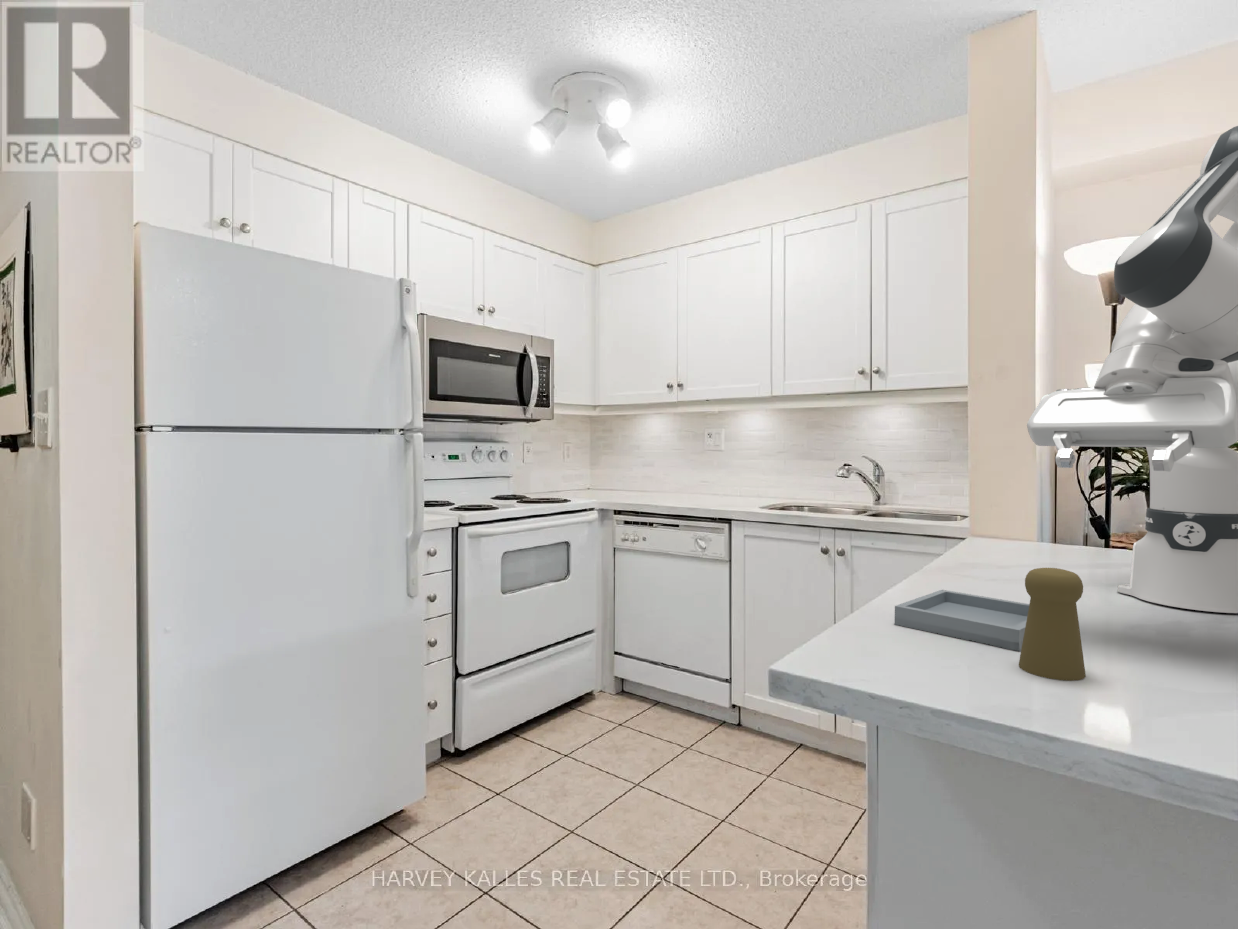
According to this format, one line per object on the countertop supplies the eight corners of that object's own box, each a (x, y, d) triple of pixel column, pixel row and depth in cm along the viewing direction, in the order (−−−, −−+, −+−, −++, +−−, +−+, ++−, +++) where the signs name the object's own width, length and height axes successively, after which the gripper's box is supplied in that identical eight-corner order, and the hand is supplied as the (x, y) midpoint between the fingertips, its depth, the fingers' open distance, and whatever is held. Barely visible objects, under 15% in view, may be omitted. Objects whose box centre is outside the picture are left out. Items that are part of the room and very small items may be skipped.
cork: (1099, 681, 67) (1102, 575, 67) (1040, 680, 67) (1043, 574, 67) (1061, 661, 73) (1063, 564, 73) (1006, 660, 73) (1008, 563, 73)
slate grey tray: (941, 606, 98) (942, 589, 97) (1058, 627, 86) (1058, 609, 86) (894, 624, 88) (894, 606, 88) (1019, 651, 76) (1019, 630, 76)
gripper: (1039, 373, 88) (1005, 445, 82) (1246, 359, 72) (1221, 447, 66) (1051, 407, 91) (1019, 479, 85) (1253, 401, 75) (1229, 489, 69)
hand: (1109, 465), depth 76 cm, fingers open, 8 cm apart
